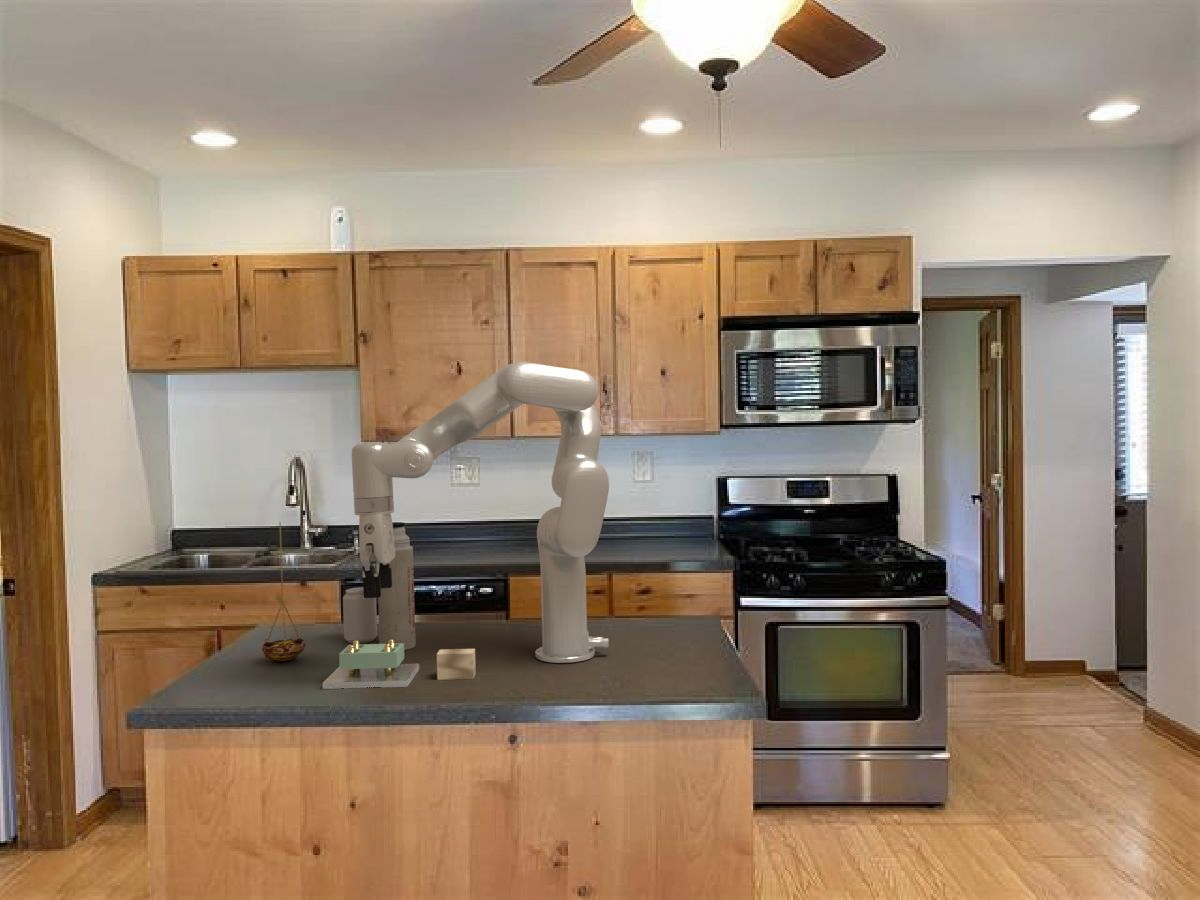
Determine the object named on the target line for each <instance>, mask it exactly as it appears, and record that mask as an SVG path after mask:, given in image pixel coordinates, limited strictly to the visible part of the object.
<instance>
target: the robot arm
mask: <svg viewBox="0 0 1200 900" xmlns="http://www.w3.org/2000/svg"><path fill="white" fill-rule="evenodd" d="M598 396H599V387H598V384H597V382H596V380H595V378H594V377H593V376H592V375H591V374H589V373H588V372H586V371H584V370H581V369H575V368H568V367H567V368H566V367H562V366H553V365H548V364H541V363H535V362H529V361H518V362H512V363H510V364H506V365H505V366H504V367H501V368H500V369H498V370H497V371H496V372H494V373H492V374H491V375H490V376H488V377H487V378H486V379H484V380H483V381H481V382H480V383H479V384H477V385H475V387H472V388H471V389H470V390H468V391H467V392H466V393H464V394H462V396H460V397H459V398H457V399H455V400H454V401H453V402H452V403H450V404H449V405H447V406H446V407H444V408H443V409H442V410H441V411H440V412H438V413H436V414H435V415H434V416H432V417H430V418H429V419H428V420H427V421H425V422H424V423H422V424H420V425H419V426H418V427H416V428H415V429H413V430H412V431H411V432H408V434H406V435H405V436H403V437H402V438H401V439H399V440H398V441H397V442H395V443H388V444H387V443H385V442H367V443H366V442H365V443H358V444H355V445H354V446H353V447H352V448H351V467H352V468H351V470H352V471H351V472H352V487H353V488H352V489H353V490H352V492H353V508H354V509H353V510H354V515H355V516H358V517H359V520H358V521H359V522H358V523H359V525H358V527H359V528H358V532H359V534H358V536H359V539H358V540H359V541H358V542H359V558H360V564H361V565H362V568H361V569H362V587H363V593H364V598H376V599H378V598H379V597H381V588H391V587H392V571H391V568H390V567H391V561H392V560H393V559H394V558H395V544H394V533H393V524H392V522H393V517H392V513H395V507H394V505H395V504H394V502H395V501H394V486H393V483H394V482H393V478H398V479H399V478H401V479H419V478H421V477H424V476H425V475H427V474H428V473H429V471H430V470H431V469H432V467H433V463H434V460H435V459H437V458H438V457H440V456H441V455H443V454H444V453H446V452H447V451H449V450H450V449H452V448H454V447H455V446H457V445H459V444H462V443H465V442H468V441H471V440H473V439H475V438H476V437H478V436H480V435H482V434H483V433H485V432H486V431H487V430H488V429H491V427H493V426H495V424H497V423H498V422H500V421H501V420H502V419H504V418H506V417H507V416H508V415H509V414H511V413H512V412H513V411H515V410H516V409H518V408H519V407H520V406H522V405H530V406H536V407H541V408H548V409H552V410H553V411H554V412H555V414H556V415H557V418H558V419H559V420H558V421H559V423H560V438H559V444H558V449H557V454H556V458H555V463H554V467H553V471H552V475H551V487H552V490H553V492H554V494H556V496H557V497H559V499H560V498H561V501H560V505H559V506H556V507H552V508H549V509H548V510H547V511H545V512H544V513H543V514H542V516H541V517H540V518H539V521H538V523H537V529H536V541H537V545H538V546H537V547H538V553H539V563H540V564H539V565H540V591H541V592H540V596H541V597H540V600H541V633H542V634H541V635H542V636H541V638H542V639H541V641H542V642H541V643H542V646H540V647H538V648H537V649H536V650H535V651H534V652H535V655H534V656H535V658H536V659H537V660H540V661H541V662H542V661H543V662H547V663H554V664H565V663H566V664H567V663H568V664H569V663H578V662H583V661H587V660H589V659H592V658H594V657H595V655H596V653H595V652H596V649H595V648H609V647H610V646H609V644H610V643H609V642H610V641H609V637H606V638H604V637H603V636H595V637H594V636H592V635H590V634H589V632H590V631H589V630H588V622H587V621H588V620H587V616H588V615H587V614H588V613H587V576H586V575H587V574H586V573H587V571H586V562H585V556H586V555H588V554H590V553H591V552H592V551H593V550H594V548H595V547H596V546H597V543H598V541H599V537H600V535H601V533H602V532H601V531H602V526H603V521H604V517H605V512H606V507H607V501H608V499H609V498H608V496H609V491H610V490H609V489H610V481H609V480H610V479H609V475H608V473H607V470H606V468H605V466H603V464H601V463H600V462H599V461H598V455H599V449H600V444H601V438H602V437H601V434H602V426H601V420H600V416H599V412H598V411H597V408H596V407H595V405H594V404H595V403H596V401H597V399H598Z"/></svg>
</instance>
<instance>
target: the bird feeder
mask: <svg viewBox="0 0 1200 900" xmlns="http://www.w3.org/2000/svg"><path fill="white" fill-rule="evenodd" d="M278 527H279V552H280V554H279V555H280V580H281V581H280V582H281V584H280V585H281V589H280V590H281V604H280V605H279V609H278V611H277V613H276V616H275V619H274V621H273V624H272V627H271V630H270V632H269V634H268V637H267V638H265V640H264V642H263V643H262V644H261V651H262V652H263V656H264V658H265V659H267V660H268V661H271V662H275V663H281V662H286V661H287V662H288V661H289V660H292V659H294V658H296V657H298V656H299V655H300V654H302V653H303V651H304V649H305V648H306V646H307V644H306V641H305V640H304V639H303V638H302V635H300V634H299V633H298V631H297V629H296V627H295V625H294V622H293V620H292V617H291V616H290V613H289V612H288V610H287V608H286V605H285V602H284V585H283V584H284V580H283V577H284V576H283V575H284V574H283V556H282V555H283V552H282V551H283V548H282V543H283V542H282V523H281V521H279V525H278ZM281 610H282V620H283V621H282V622H283V623H282V625H283V626H282V627H283V638H284V639H277V640H272V641H271V640H270V638H271V635H272V632H273V630H274V627H275V624H276V622H277V619H278V617H279V614H280V611H281ZM285 612H286V614H287V617H288V618H289V620H290V623H291V625H292V627H293V630H294V631H295V634H296V638H286V637H287V635H286V624H285V622H286V621H285Z"/></svg>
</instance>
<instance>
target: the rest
mask: <svg viewBox="0 0 1200 900" xmlns="http://www.w3.org/2000/svg"><path fill="white" fill-rule="evenodd" d="M476 671H477V670H476V648H453V649H452V648H451V649H449V648H448V649H447V648H445V649H439V650H438V651H437V653H436V674H437V676H436V677H437V681H439V680H440V681H443V680H447V681H448V680H473V679H474V678H475V676H476V674H477V672H476Z"/></svg>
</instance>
